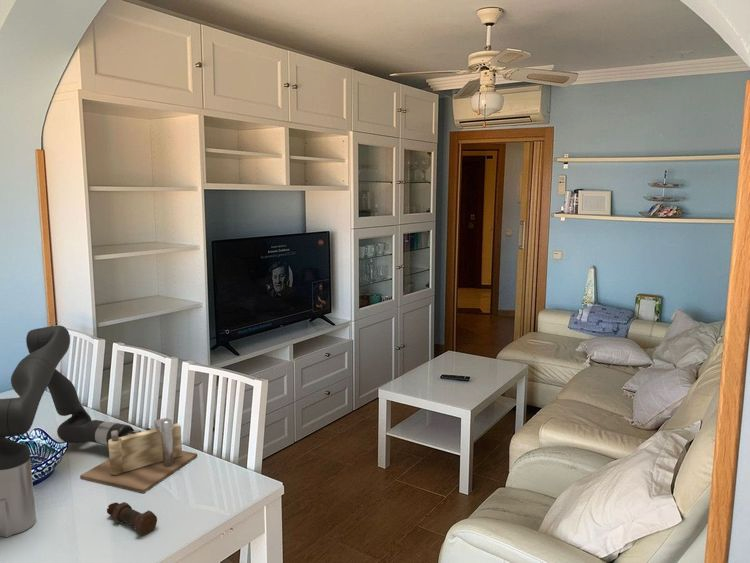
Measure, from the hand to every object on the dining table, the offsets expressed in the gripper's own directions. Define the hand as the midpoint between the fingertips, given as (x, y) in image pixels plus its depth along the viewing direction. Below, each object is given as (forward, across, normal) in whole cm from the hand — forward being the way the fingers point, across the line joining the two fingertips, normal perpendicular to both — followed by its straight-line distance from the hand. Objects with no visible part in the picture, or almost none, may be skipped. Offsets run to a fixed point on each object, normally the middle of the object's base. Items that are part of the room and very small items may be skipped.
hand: (158, 443), depth 180 cm
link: (-1, -4, +5) cm, 7 cm away
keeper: (+3, -1, +5) cm, 6 cm away
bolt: (+16, -30, +6) cm, 34 cm away
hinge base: (-3, -5, +6) cm, 8 cm away
